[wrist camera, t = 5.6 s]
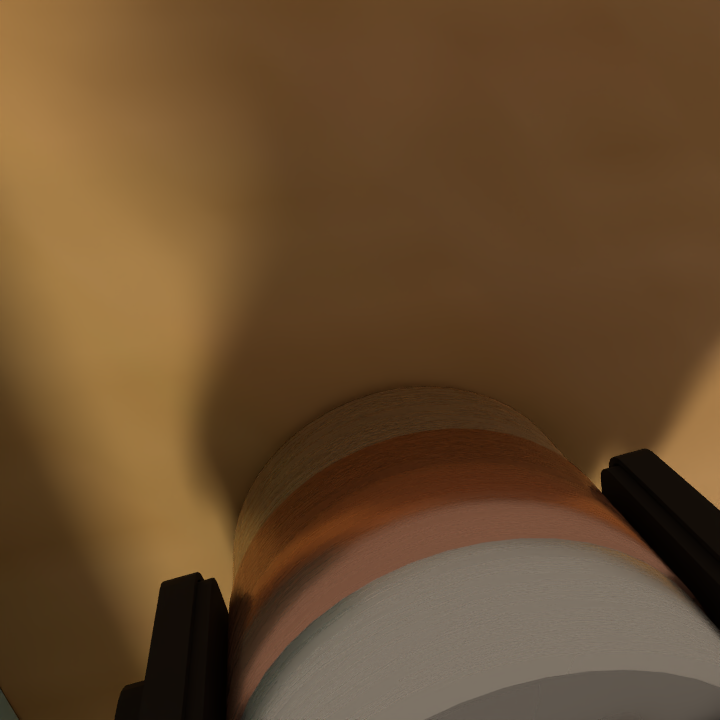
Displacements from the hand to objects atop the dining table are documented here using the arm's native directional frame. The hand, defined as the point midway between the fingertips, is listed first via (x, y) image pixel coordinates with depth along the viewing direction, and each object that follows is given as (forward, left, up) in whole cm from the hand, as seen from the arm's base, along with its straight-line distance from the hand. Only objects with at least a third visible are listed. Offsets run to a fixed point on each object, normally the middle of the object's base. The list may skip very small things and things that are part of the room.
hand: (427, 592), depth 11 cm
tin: (0, 0, -1) cm, 1 cm away
